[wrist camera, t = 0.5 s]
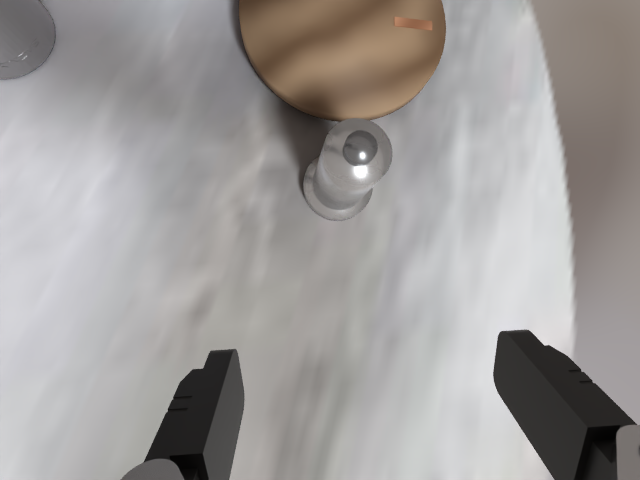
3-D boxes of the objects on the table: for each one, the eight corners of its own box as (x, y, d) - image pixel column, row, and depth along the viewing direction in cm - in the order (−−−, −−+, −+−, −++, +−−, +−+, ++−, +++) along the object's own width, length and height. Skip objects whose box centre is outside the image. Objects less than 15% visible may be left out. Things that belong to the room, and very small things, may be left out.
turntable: (196, 9, 37) (192, -4, 35) (346, -98, 41) (349, -113, 39) (339, 163, 37) (341, 157, 35) (477, 42, 40) (486, 31, 39)
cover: (288, 184, 37) (294, 140, 26) (337, 142, 38) (362, 83, 27) (335, 234, 37) (360, 211, 26) (383, 190, 38) (425, 151, 27)
